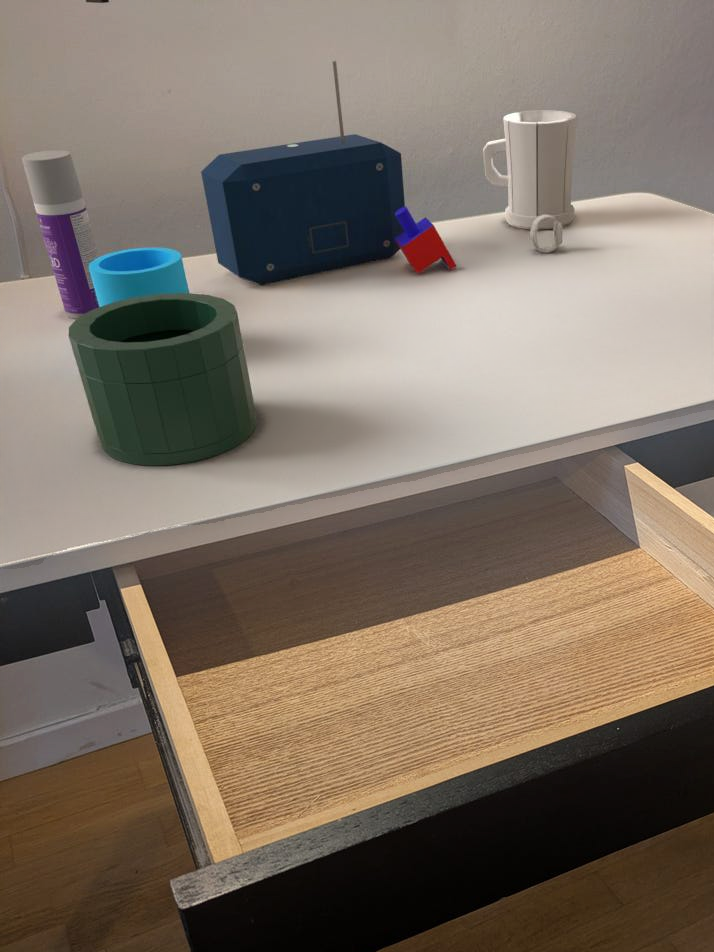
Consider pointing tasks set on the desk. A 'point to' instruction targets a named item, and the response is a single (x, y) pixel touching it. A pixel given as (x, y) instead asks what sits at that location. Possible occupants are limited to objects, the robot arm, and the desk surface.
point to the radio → (305, 206)
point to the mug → (137, 274)
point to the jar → (165, 377)
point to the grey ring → (557, 233)
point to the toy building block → (421, 242)
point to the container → (64, 227)
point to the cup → (535, 166)
